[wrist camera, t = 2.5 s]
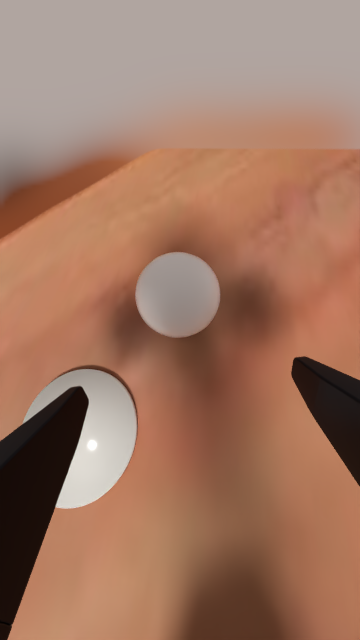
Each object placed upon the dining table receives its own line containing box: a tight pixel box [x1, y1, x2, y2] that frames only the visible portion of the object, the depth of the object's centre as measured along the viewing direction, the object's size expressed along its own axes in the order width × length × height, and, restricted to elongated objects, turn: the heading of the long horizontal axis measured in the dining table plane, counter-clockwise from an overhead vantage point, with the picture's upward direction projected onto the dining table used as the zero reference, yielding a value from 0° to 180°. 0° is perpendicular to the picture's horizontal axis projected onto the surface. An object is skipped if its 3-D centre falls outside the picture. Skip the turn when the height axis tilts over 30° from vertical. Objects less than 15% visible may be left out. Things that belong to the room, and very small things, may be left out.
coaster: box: [23, 369, 138, 508], centre depth 19 cm, size 12×12×1 cm
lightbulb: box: [135, 252, 220, 338], centre depth 16 cm, size 6×6×11 cm
